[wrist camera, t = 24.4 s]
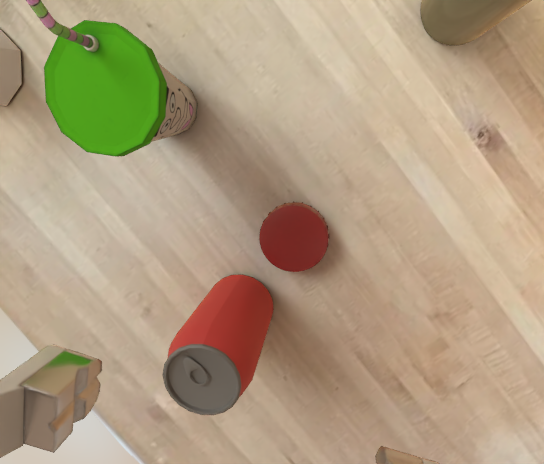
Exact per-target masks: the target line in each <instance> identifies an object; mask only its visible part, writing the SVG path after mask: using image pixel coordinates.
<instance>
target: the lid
mask: <svg viewBox="0 0 544 464" xmlns="http://www.w3.org/2000/svg"><path fill="white" fill-rule="evenodd" d="M328 238H329V234H328V226H327V225H326V222H325V220H324V218H323V217H322V216H321V214H320V213H319V211H317V210H315V209H314V208H312V206H309V205H306V204H303V202H302V203H297V202H292V203H284V204H283V205H281V206H279V207H278V206H277V207H276V208H275V209H274V210H273V211H272V212H270V213H269V214H268V217H267V218H266V219H265V220H264V221H263V224H262V227H261V229H260V245H261V249H262V251H263V253H264V255H265V256H266V258H267V259H268V260H269V261H270V262H271V263H272V264H273V265H275V266H276V267H278V268H280V269H282V270H285V271H290V272H299V271H304V270H307V269H309V268H312V267H313V266H315V265H316V264H317V263H318V262H319V261H320V260H321V259H322V258H323V256H324V255H325V252H326V250H327V247H328Z"/></svg>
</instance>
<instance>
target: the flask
mask: <svg viewBox="0 0 544 464" xmlns="http://www.w3.org/2000/svg"><path fill="white" fill-rule="evenodd" d="M21 84H22V80H21V50H20V49H19V48H18V47H17V46H16V45H15V44H14V43H13V42H12V41H11V40H10V39H9V38H8V37H7V36H6V35H5V34H4V33H3V32H2V30H1V29H0V105H2V106H7V105H8V103H9V102H10V100H11V99H12V97H13V96H14V94H15V93H16V91H17V90H18V88H19V87H20V85H21Z"/></svg>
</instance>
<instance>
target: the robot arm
mask: <svg viewBox="0 0 544 464" xmlns="http://www.w3.org/2000/svg"><path fill="white" fill-rule="evenodd" d="M101 371H102V361H100V360H99V359H97V358H94V357H91V356H88V355H85V354H82V353H79V352H76V351H73V350H70V349H66V348H63V347H60V346H57V345H54V344H53V345H49V346H47V347H45V348H44V349H42V350H41V351H40V352H38V353H37V354H36V355H34V356H33V357H31V358H30V359H29V360H27V361H26V362H24V363H23V364H22V365H20V366H19V367H17V368H16V369H15V370H13V371H12V372H11V373H9V374H8V375H6V376H5V377H4V378H2V379H1V380H0V458H1V457H3V456H4V455H6V454H8V453H10V452H12V451H14V450H16V449H18V448H19V447H21V446H23V444H27V445H30V446H33V447H37V448H40V449H43V450H47V451H50V452H53V453H54V452H55V451H56V450H57V449H58V447H59V446H60V445H61V444H62V443H63V442H64V441H65V440H66V438H67V437H68V436H69V435H70V434H71V433H72V431H73V423H75V422H77V421H79V420H81V419H84V418H85V417H86V416H87V414H88V413H89V412H90V411H91V409H92V408H93V406H94V404H95V402H96V400H97V398H98V395H99V392H100V382H99V380H98V379H97V376H98V375H99V373H100V372H101ZM375 457H376V463H377V464H439V463H438V462H435V461H431V460H428V459H425V458H421V457H417V456H414V455H410V454H407V453H404V452H400V451H397V450H394V449H390V448H387V447H383V446H381V447H380V448H379V449H378V452H377V454H376V456H375Z"/></svg>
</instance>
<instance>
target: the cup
mask: <svg viewBox="0 0 544 464" xmlns="http://www.w3.org/2000/svg"><path fill="white" fill-rule="evenodd" d="M26 1H27V2H28V4H29V5H30V6H31V8H32V9H33V10H34V12H35V13H36V14H37V16H38V17H39V18H40V20H41V21H42V23H43V24H44V25H45V26H46V27H47V28H48V29H49V30H50V31H51V32H53V33H54V34H56V35H58V38H57V40H56V42H55V44H54V46H53V48H52V51H51V53H50V55H49V57H48V59H47V62H46V64H45V66H44V72H45V93H46V103H47V104H48V106H49V108H50V110H51V112H52V114H53V116H54V118H55V120H56V122H57V124H58V126H59V128H60V130H61V132H62V133H63V134H65V135H66V136H67V137H68V138H70V139H71V140H72V141H74V142H75V143H76V144H77V145H79V146H80V147H81V148H83V149H84V150H85V151H86V152H90V153H97V154H104V155H110V156H125V155H127V154H129V153H131V152H133V151H135V150H138V149H140V148H142V147H144V146H146V145H148V144H150V142H152V141H155V140H159V139H162V138H166V137H169V136H173V135H176V134H179V133H181V132H183V131H185V130H188V129H189V128H190V127H191V125H192V124H193V122H194V120H195V119H196V113H197V102H196V100H195V98H194V95H193V93H192V91H191V90H190V89H189V88H188V87H187V86H185V85H184V84H183V83H182V82H181V81H179V80H178V79H177V78H176V77H175V76H173V75H172V74H171V73H170V72H168V71H167V70H166V69H165V68H164V67H162V66H161V65H160V64H159V63H158V62H157V59H156V57H155V55H154V53H153V50H152V49H151V48H149V47H148V46H147V45H146V44H144V43H143V42H142V41H141V40H139V39H138V38H137V37H136V36H134V35H133V34H132V33H131V32H129V31H128V30H127V29H125V28H124V27H122V26H120V25H118V24H116V23H107V22H97V21H87V20H84V21H82V22H81V23H79V24H78V25H76V26H74V27H73V28H71V29H69V28H67V27H65V26H63V25H60V24H59V23H57V22H56V21H55V20H54V19H53V18H52V16H51V15H50V13H49V12H48V10H47V9H46V8H45V6H44V5H43V3H42V2H41V0H26Z"/></svg>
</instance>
